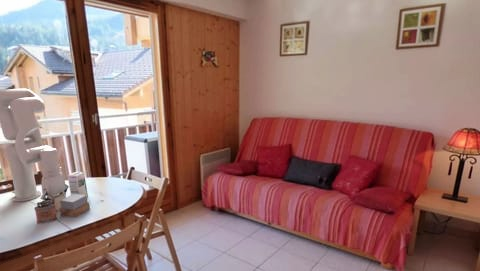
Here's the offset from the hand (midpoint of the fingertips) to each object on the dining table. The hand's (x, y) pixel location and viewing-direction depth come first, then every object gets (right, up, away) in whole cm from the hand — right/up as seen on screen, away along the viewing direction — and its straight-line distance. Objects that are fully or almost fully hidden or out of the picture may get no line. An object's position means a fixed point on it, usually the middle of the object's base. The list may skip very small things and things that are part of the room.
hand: (57, 205), depth 144 cm
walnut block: (+12, -2, -5) cm, 13 cm away
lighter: (+4, -4, -13) cm, 14 cm away
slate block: (+12, +2, -6) cm, 13 cm away
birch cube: (0, -1, 0) cm, 1 cm away
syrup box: (+5, +1, +11) cm, 12 cm away
